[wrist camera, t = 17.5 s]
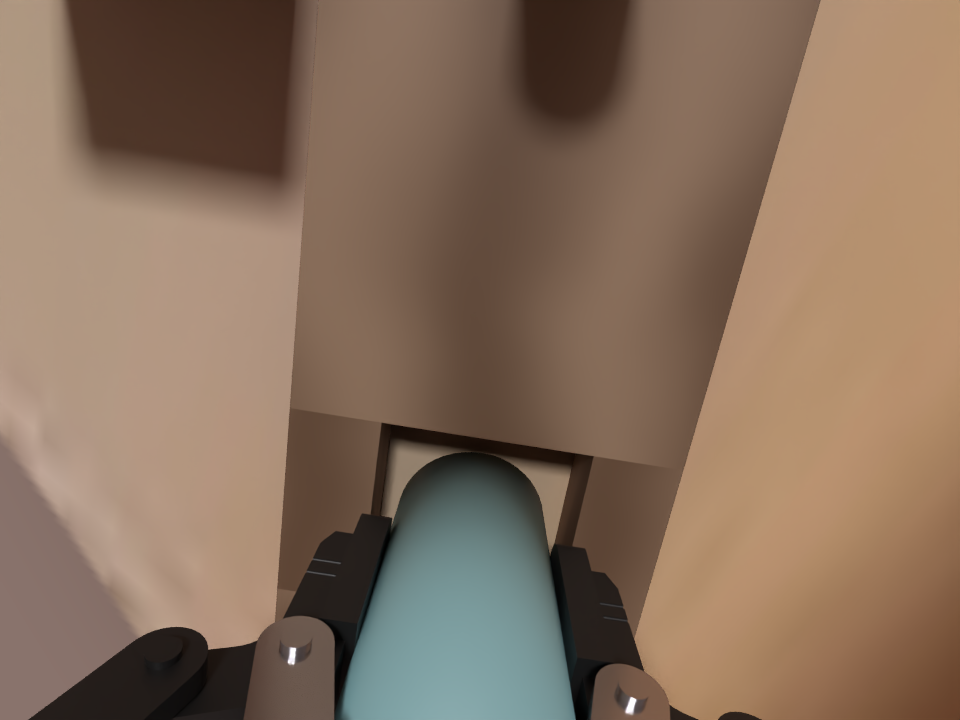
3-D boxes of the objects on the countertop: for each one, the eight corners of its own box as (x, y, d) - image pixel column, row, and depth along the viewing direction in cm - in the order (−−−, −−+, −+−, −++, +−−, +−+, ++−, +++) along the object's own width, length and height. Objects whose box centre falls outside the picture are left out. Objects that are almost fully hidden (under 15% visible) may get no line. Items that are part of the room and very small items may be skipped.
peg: (556, 464, 15) (640, 824, 6) (528, 590, 16) (568, 1039, 8) (407, 440, 15) (292, 773, 6) (389, 568, 16) (270, 998, 7)
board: (858, -283, 12) (1214, -749, 6) (601, 652, 18) (650, 861, 13) (376, -375, 11) (255, -951, 6) (295, 606, 18) (204, 798, 12)
